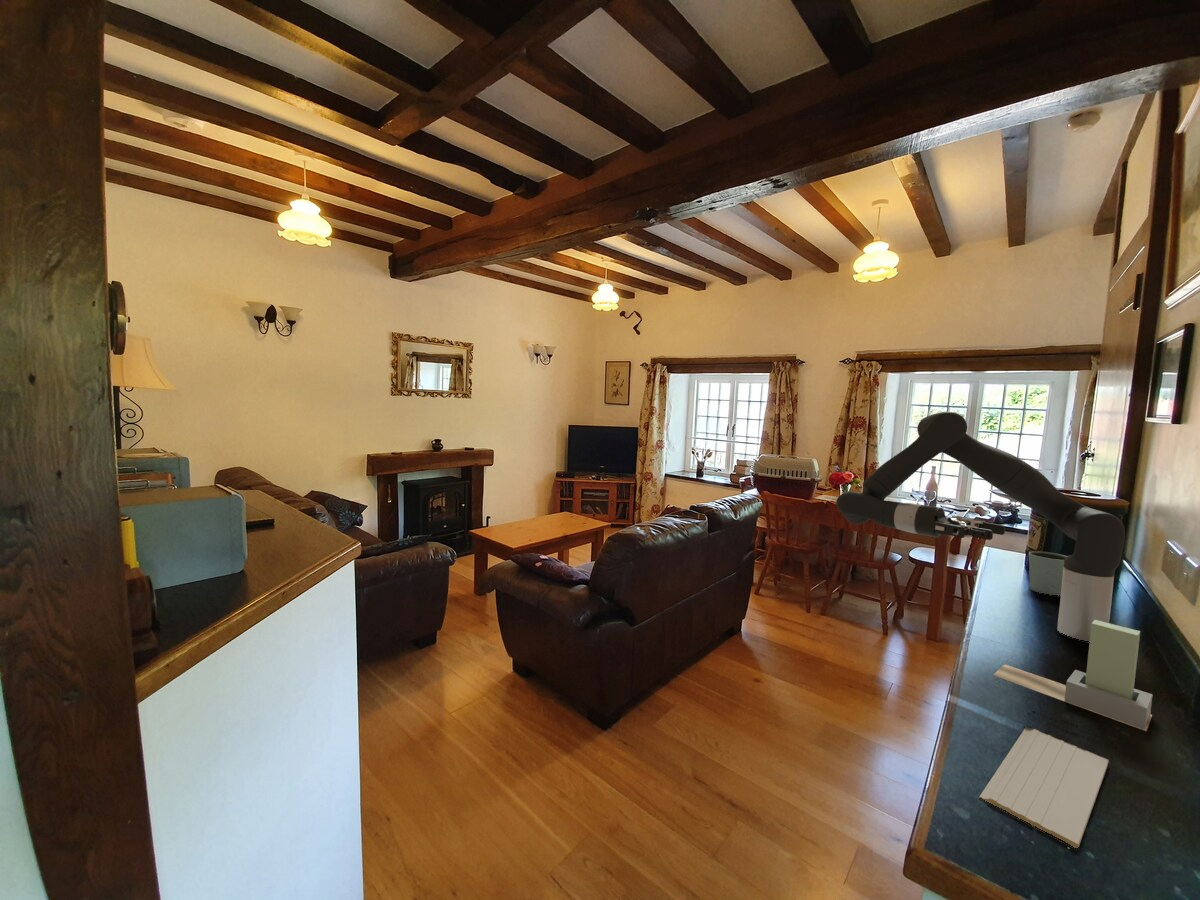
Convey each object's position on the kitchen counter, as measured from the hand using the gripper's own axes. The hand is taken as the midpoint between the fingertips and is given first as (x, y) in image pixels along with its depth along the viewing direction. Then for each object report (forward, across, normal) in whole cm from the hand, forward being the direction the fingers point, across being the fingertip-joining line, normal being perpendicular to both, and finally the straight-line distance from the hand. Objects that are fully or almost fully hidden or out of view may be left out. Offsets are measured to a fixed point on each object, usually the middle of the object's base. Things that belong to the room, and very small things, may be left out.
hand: (998, 532), depth 110 cm
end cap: (+20, -6, +29) cm, 36 cm away
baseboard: (+17, -36, +31) cm, 51 cm away
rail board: (+15, -6, +30) cm, 34 cm away
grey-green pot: (-4, +72, +30) cm, 78 cm away
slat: (+20, -6, +29) cm, 36 cm away
